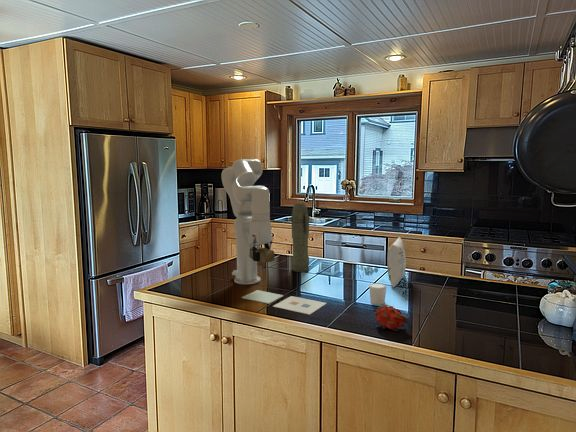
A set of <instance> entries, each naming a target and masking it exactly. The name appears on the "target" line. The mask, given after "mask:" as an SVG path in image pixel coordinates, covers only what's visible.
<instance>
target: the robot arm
mask: <svg viewBox="0 0 576 432" xmlns="http://www.w3.org/2000/svg"><path fill="white" fill-rule="evenodd" d="M263 170H264V169H263V164H262V162H261V161H260V160H259V159H258V158H244V159H243V158H241V159H237V160H234V161H233V162H232V165H231V166H229V167H225V168H224V169H222V172H221V183H222V186H223V188H224V190H225V192H226V193H227V195H228V197H229V199H230V205H231V208H232V213H233V215H234V217H236V218H235V219H234V222H233V230H234V234H235V245H236V247H235V248H236V269H233V271H232V272H231V276H235V278H234V279H233V280H234V283H235V284H237V285H254V284H257V283H260V282H261V277H260V276H259V275H258V263H259V261H260V252H258V251H259V248H260V247H261V246H262V245H263V246H264V247H263V248H266V249H270V250H271V248H272V244H273V240H274V236H273V235H272V224H271V213H270V212H271V210H270V209H271V208H270V206H271V205H270V203H271V202H270V198H271V197H270V190H269V188H268V187H266V186H265V185H255V183H256V182H257V180H258V179H259V178H260V177H261V176H262V175H263ZM256 247H257V248H256ZM250 249H251V250H252V252H253V259H251V258H250V257H249V254H250Z"/></svg>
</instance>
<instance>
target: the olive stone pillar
mask: <svg viewBox="0 0 576 432" xmlns="http://www.w3.org/2000/svg"><path fill="white" fill-rule="evenodd" d="M290 215H291V239H292V257H291V265H292V271H293V272H296V273H304V272H308V271H309V270H310V268H309V266H310V256H309V254H308V253H309V237H310V236H309V235H310V216H309V214H308V206H307V204H306V203H303V202H300V203H299V202H298V203H294V205H293V207H292V212H291V214H290Z"/></svg>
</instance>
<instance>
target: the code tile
mask: <svg viewBox="0 0 576 432" xmlns="http://www.w3.org/2000/svg"><path fill="white" fill-rule="evenodd" d="M325 305H327V302H324V301H323V302H322V301H318V300H313V299H308V298H304V297H298V296H292V295H290V296H289V297H286V298H284V299H283V300H281V301H280V302H278V303H275V304H274V305H272V307H273V308H278V309H283V310H287V311H291V312H295V313H299V314H300V313H301V314H303V315H309V316H310V315H311V314H313V313H314V312H316V311H318V310H320V309H321V308H322V307H323V306H325Z"/></svg>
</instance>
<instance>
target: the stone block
mask: <svg viewBox="0 0 576 432" xmlns="http://www.w3.org/2000/svg"><path fill="white" fill-rule="evenodd" d="M256 248H257V246H256ZM258 252H260V261H259V262H260V263H263V264H264V263H265V264H266V263H271V262H275V252H274V250H272V249H271V248H270V249H266V248H265V247H261V246H260V248H259V251H258ZM249 257H250V258H251V259H253V252H252V250H251V249H250V254H249ZM259 262H258V263H259Z"/></svg>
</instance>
